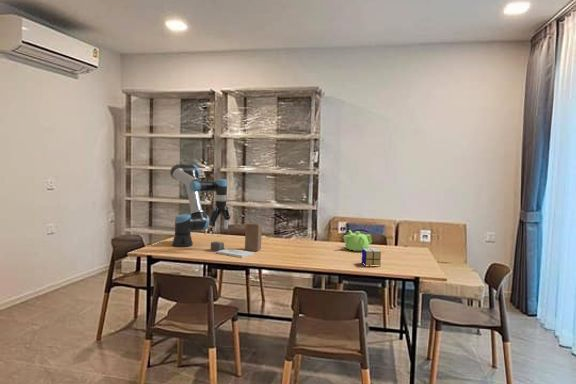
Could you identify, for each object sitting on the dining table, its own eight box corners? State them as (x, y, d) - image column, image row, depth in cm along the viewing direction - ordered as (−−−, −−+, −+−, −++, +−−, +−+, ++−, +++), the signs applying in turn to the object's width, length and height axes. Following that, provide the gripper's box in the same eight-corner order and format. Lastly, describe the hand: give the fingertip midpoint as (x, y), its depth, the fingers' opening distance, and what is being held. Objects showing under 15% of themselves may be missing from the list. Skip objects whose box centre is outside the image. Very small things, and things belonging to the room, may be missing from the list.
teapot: (364, 253, 323) (365, 234, 322) (339, 250, 332) (340, 231, 331) (372, 249, 339) (373, 231, 338) (348, 246, 349) (349, 228, 348)
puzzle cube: (361, 263, 291) (362, 248, 290) (375, 263, 292) (376, 248, 291) (365, 266, 281) (366, 251, 280) (380, 266, 282) (381, 251, 281)
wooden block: (257, 251, 314) (258, 224, 313) (244, 250, 316) (245, 223, 315) (261, 249, 324) (262, 222, 323) (248, 248, 326) (249, 222, 325)
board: (216, 253, 304) (216, 251, 304) (228, 250, 316) (228, 248, 316) (241, 257, 293) (242, 255, 293) (253, 254, 305) (253, 252, 305)
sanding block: (210, 250, 314) (210, 242, 313) (215, 249, 318) (215, 241, 318) (219, 251, 310) (219, 243, 309) (223, 250, 314) (223, 242, 314)
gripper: (214, 202, 299) (213, 232, 301) (235, 200, 321) (234, 228, 323) (205, 201, 303) (204, 231, 304) (227, 199, 325) (226, 227, 326)
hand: (220, 229), depth 313 cm, fingers open, 13 cm apart
